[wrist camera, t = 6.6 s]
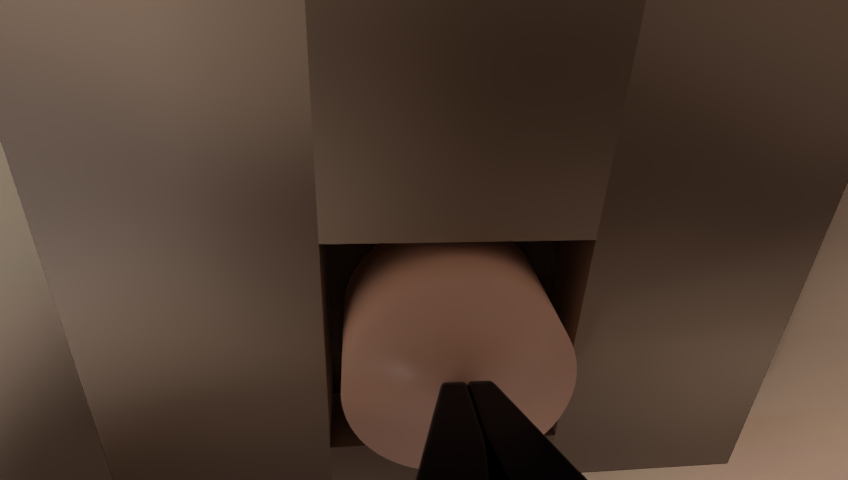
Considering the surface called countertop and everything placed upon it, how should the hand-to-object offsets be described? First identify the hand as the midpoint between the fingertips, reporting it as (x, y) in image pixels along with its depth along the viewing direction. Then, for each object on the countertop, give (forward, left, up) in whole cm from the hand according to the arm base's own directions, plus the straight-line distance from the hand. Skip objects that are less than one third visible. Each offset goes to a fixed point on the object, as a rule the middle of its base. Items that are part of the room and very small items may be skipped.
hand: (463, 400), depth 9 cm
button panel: (+9, 0, -3) cm, 9 cm away
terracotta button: (0, 0, -3) cm, 3 cm away
